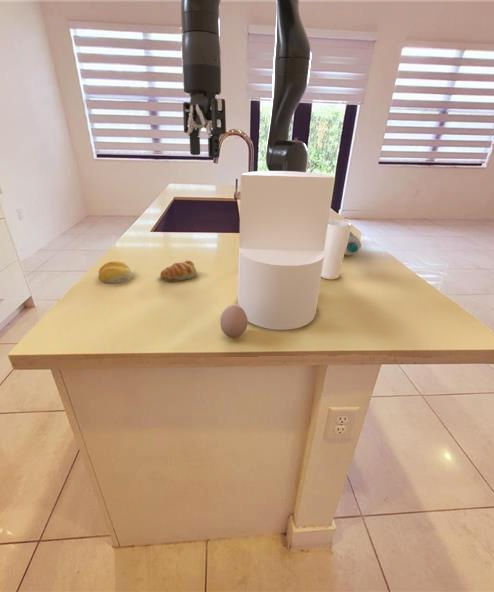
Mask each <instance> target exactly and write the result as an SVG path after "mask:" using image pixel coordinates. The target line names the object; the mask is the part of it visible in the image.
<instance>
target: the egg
mask: <svg viewBox="0 0 494 592" xmlns="http://www.w3.org/2000/svg"><path fill="white" fill-rule="evenodd" d="M219 325H220V329H221V331H222V333H223V334H224V335H225V336H226V337H228V338H231V339H236V338H239V337H241V336H242V335H243V334H244V333H245V332H246V331H247V328H248V321H247V316H246V313H245V311H244V310H243V309H242V308H241V307H240V306H239V305H238V304H235V303H234V304H230V305H227V306H226V307H225V308H224V310H223V311H222V313H221V316H220V319H219Z"/></svg>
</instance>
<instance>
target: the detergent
mask: <svg viewBox="0 0 494 592" xmlns="http://www.w3.org/2000/svg"><path fill="white" fill-rule="evenodd" d="M361 248H362V243H361V241H360V239H359V238H358V237H357V236H356V235H355V234H354V233H352V231H350V235H349V240H348V244H347V247H346V251H345V254H344V256H352V255H354V254H356V253H357V252H358V251H359V250H360V249H361Z"/></svg>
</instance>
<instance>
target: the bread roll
mask: <svg viewBox="0 0 494 592" xmlns="http://www.w3.org/2000/svg"><path fill="white" fill-rule="evenodd" d="M132 276H133V271H132V269H131V267H130V266H129V265H128V264H127V263H125V262H123V261H119V260H113V261H108V262H105V263H104V264H102V266H101V267H100V268H99V270H98V278H97V279H98V281H99V282H100V283H103V284H104V285H118V284H123V283H125V282H127V281H129V280H130V279H131V278H132Z"/></svg>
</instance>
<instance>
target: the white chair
mask: <svg viewBox="0 0 494 592" xmlns="http://www.w3.org/2000/svg"><path fill="white" fill-rule="evenodd" d="M335 182H336V177H335V176H332V175H329V174H323V173H315V172H307V171H306V172H295V171H269V170H258V171H257V170H256V171H255V170H254V171H248V172H243V173H241V174H240V188H239V189H240V192H239V237H238V239H239V241H238V277H237V278H238V281H237V305H239V306H240V307H241V308H242V309H243V310H244V311H245V313H246V316H247V323H250V324H253V325H255V326H256V327H260V328H263V329H270V330H278V331H283V330H287V331H288V330H293V329H294V330H295V329H299V328H302V327H304V326H307V325H309V324H310V323H311V322H312V321H313V320H314V318H315V316H316V312H317V306H318V301H319V300H318V299H319V293H320V286H321V280H322V277H321V274H322V268H323V262H324V246H325V240H326V233H327V227H328V220H330V214H331V207H332V202H333V201H332V200H333V195H334V194H333V193H334V187H335Z"/></svg>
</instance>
